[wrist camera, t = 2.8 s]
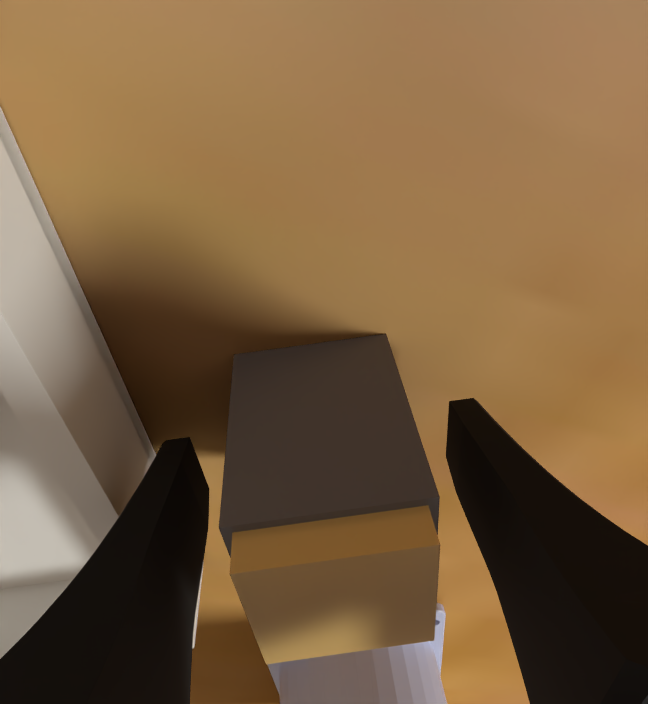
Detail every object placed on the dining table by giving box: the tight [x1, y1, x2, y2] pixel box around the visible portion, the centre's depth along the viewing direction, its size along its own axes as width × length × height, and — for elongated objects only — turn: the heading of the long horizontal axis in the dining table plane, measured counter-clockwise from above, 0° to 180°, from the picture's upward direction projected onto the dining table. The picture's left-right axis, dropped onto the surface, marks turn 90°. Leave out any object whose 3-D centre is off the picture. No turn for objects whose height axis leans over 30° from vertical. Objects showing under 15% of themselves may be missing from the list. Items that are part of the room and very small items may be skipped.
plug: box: [219, 334, 440, 664], centre depth 12 cm, size 4×4×6 cm
